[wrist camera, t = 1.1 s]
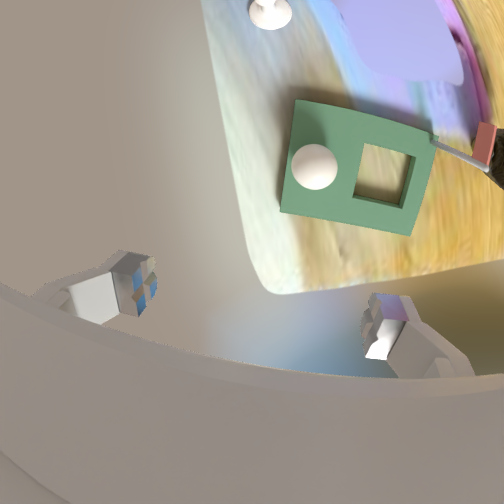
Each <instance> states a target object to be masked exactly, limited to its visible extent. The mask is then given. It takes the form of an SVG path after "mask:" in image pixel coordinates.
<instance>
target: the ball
mask: <svg viewBox="0 0 504 504" xmlns="http://www.w3.org/2000/svg"><path fill="white" fill-rule="evenodd" d="M291 169H292V173H293V176H294V178H295V179H296V181H297V182H298V183H299V184H300V185H302V186H303V187H305V188H308V189H312V190H318V189H323V188H325V187H327V186H328V185H330V184H331V183H332V182H333V181H334V179H335V177H336V174H337V170H338V165H337V161H336V158H335V156H334V154H333V153H332V152H331V151H330V150H329V149H328V148H326V147H324V146H322V145H319V144H309V145H305V146H303V147H301V148H300V149H299V150H298V151H297V152H296V153H295V155H294V157H293V159H292V163H291Z"/></svg>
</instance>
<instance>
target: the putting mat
mask: <svg viewBox="0 0 504 504" xmlns="http://www.w3.org/2000/svg"><path fill="white" fill-rule="evenodd" d="M496 130H497V127H496V126H494V125H491V124H488V123H484V122H480V121H479V126H478V131H477V136H476V141H475V145H474V150H473V154H472V157H471V156H469V155H467V154H465V153H463V152H460V151H458V150H456V149H454V148H452V147H449V146H447V145H445V144H442V143H440V142H438V138H439V136H436V135H434V134H431V133H428V132H425V131H423V130H420V129H417V128H414V127H411V126H408V125H405V124H402V123H398V122H395V121H392V120H388V119H385V118H381V117H378V116H374V115H370V114H367V113H363V112H359V111H354V110H350V109H346V108H341V107H337V106H332V105H327V104H322V103H316V102H310V101H305V100H298V99H295V107H294V114H293V122H292V129H291V136H290V144H289V151H288V158H287V165H286V172H285V179H284V186H283V192H282V199H281V206H280V212H282V213H289V214H295V215H301V216H307V217H312V218H318V219H324V220H329V221H335V222H340V223H346V224H351V225H356V226H362V227H367V228H372V229H377V230H382V231H387V232H391V233H396V234H401V235H406V236H410V235H411V233H412V230H413V227H414V224H415V221H416V218H417V215H418V212H419V209H420V206H421V203H422V200H423V196H424V193H425V190H426V186H427V183H428V179H429V175H430V172H431V168H432V164H433V160H434V156H435V152H436V147H438V148H440V149H442V150H444V151H446V152H448V153H450V154H452V155H454V156H456V157H458V158H460V159H462V160H464V161H466V162H468V163H470V164H472V165H473V166H475V167H477V168H479V169H481V170H482V171H484V172H486V173H487V172H488V171H489V162H490V158H491V154H492V150H493V145H494V140H495V135H496ZM364 143H367V144H371V145H375V146H379V147H383V148H387V149H390V150H394V151H397V152H401V153H404V154H408V155H411V156H412V157H411V161H410V165H409V169H408V173H407V177H406V181H405V184H404V188H403V192H402V195H401V199H400V202H399V205H398V204H394V203H389V202H385V201H381V200H376V199H372V198H367V197H363V196H358V195H353V192H354V188H355V184H356V179H357V175H358V170H359V166H360V161H361V156H362V151H363V146H364ZM309 144H319V145H322V146H324V147H326V148H328V149H329V150H330V151H331V152H332V153H333V154H334V156H335V158H336V161H337V165H338V170H337V174H336V177H335V179H334V181H333V182H332V183H331V184H330V185H328V186H327V187H325V188H323V189H318V190H312V189H308V188H305V187H303V186H302V185H300V184H299V183H298V182H297V181H296V179H295V178H294V176H293V173H292V169H291V163H292V159H293V157H294V155H295V153H296V152H297V151H298V150H299V149H300V148H301V147H303V146H305V145H309Z"/></svg>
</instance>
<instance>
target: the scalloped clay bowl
mask: <svg viewBox="0 0 504 504" xmlns="http://www.w3.org/2000/svg"><path fill="white" fill-rule="evenodd" d="M475 141H476V137H475V138H474V140H473V142H472V151H473V150H474V145H475ZM483 172H484V171H483ZM484 173H485V174H486V175H487V176H488V177H489V178H490V179H491V180H492V181H494V182H495V183H496V184H497V185H498V186H499V187H500V188H502V189H503V190H504V129H499V128H497V130H496V135H495V140H494V145H493V150H492V154H491V158H490V162H489V171H488V172H487V173H486V172H484Z"/></svg>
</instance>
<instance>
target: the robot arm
mask: <svg viewBox="0 0 504 504" xmlns="http://www.w3.org/2000/svg"><path fill="white" fill-rule="evenodd" d="M155 268H156V264H155V259H154V258H153V256H148V255H143V254H138V253H133V252H130V251H123V250H118V251H117V252H116V253H114V254H113V255H112V256H111V257H110V258H109V259H107V260H106V261H105V262H104V263H103V264H102V265H101V266H100V267H99V268H92V269H89V270H86V271H82V272H79V273H76V274H73V275H70V276H67V277H64V278H61V279H58V280H55V281H52V282H48V283H46V284H44V285H43V286H42V287H41V288H40V289H39V290H38V291H36V293H34V294H33V295H32V296H31V297H29V296H27V295H25V294H23V293H21V292H19V291H17V290H15V289H12V288H10V287H8V286H6V285H4V284H2V283H0V504H504V373H502V374H493V375H483V376H475V374H474V372H473V369H472V367H471V365H470V362H469V360H468V358H467V357H466V356H465V355H464V354H463V353H462V352H461V351H459V350H458V349H457V348H456V347H454V346H453V345H452V344H451V343H450V342H448V341H447V340H446V339H445V338H443V337H442V336H441V335H440V334H439V333H437V332H436V331H435V330H434V329H432V328H431V327H430V326H428V325H427V324H426V323H422V322H421V319H420V317H419V315H418V313H417V311H416V309H415V306H414V304H413V302H412V300H411V298H410V297H408V296H400V295H390V294H380V293H372V294H371V296H370V298H369V300H368V304H369V308H368V309H367V310H366V311H364V313H363V317H362V320H361V325H360V332H361V336H362V337H363V338H364V339H365V341H364V343H363V348H364V353H365V357H366V358H377V359H386V361H387V362H388V364H389V365H390V366H391V367H392V369H393V370H394V371H395V372H396V374H397V375H398V376H399V378H400V379H395V378H370V377H369V378H368V377H353V376H340V375H329V374H319V373H309V372H302V371H294V370H287V369H279V368H273V367H266V366H261V365H255V364H249V363H244V362H238V361H233V360H228V359H223V358H219V357H214V356H209V355H205V354H200V353H196V352H192V351H188V350H184V349H180V348H176V347H172V346H168V345H165V344H160V343H157V342H154V341H150V340H147V339H143V338H140V337H136V336H133V335H130V334H126V333H124V332H120V331H117V330H114V329H111V328H108V327H106V326H103V325H100V324H102V323H104V322H105V321H107V320H109V319H111V318H113V317H114V316H116V315H118V314H119V312H120V313H124V314H128V315H132V316H135V317H139V316H140V315H141V313H142V312H143V311H144V309H145V308H146V302H147V301H150V300H152V298H153V297H154V295H155V292H156V289H157V277H156V275H155V274H154V272H153V270H154V269H155Z"/></svg>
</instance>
